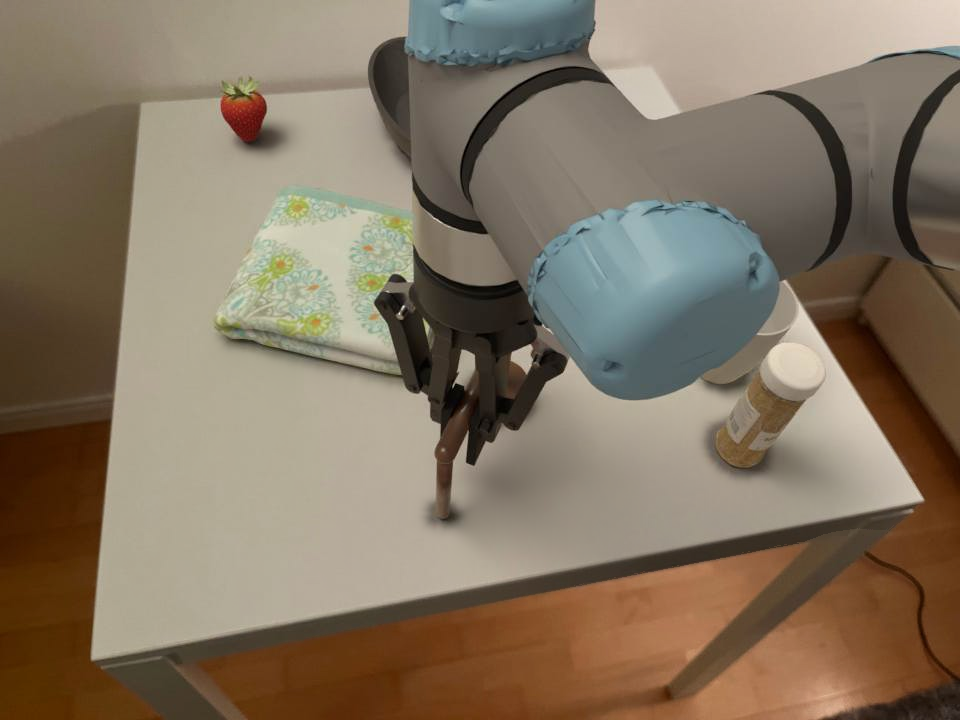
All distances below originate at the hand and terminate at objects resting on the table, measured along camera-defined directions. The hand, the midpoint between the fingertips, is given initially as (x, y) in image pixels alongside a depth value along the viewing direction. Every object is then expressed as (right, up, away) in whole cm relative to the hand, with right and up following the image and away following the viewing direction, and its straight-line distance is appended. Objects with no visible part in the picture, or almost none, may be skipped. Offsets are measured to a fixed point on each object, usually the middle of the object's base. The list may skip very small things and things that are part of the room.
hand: (463, 445), depth 60 cm
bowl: (-6, +35, +31) cm, 47 cm away
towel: (-12, +14, +16) cm, 24 cm away
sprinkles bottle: (+25, -1, +8) cm, 26 cm away
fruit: (-26, +33, +28) cm, 51 cm away
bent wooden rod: (+1, -1, +6) cm, 6 cm away
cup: (+25, +6, +13) cm, 29 cm away
